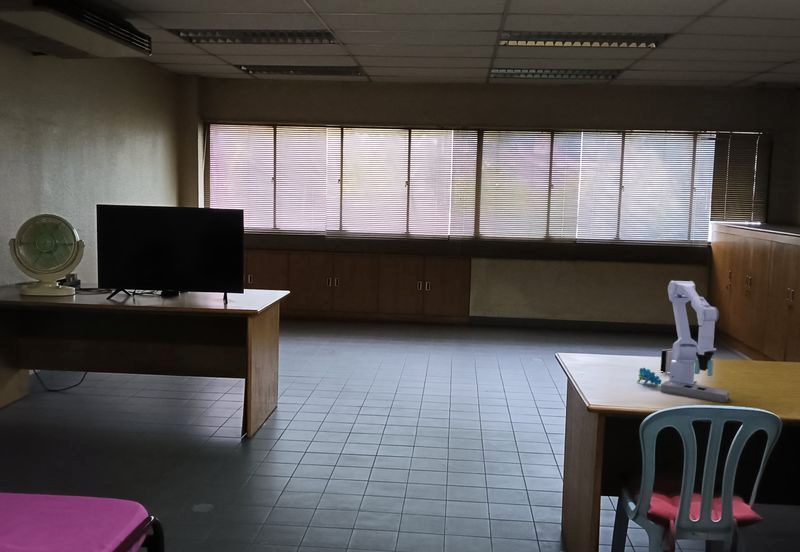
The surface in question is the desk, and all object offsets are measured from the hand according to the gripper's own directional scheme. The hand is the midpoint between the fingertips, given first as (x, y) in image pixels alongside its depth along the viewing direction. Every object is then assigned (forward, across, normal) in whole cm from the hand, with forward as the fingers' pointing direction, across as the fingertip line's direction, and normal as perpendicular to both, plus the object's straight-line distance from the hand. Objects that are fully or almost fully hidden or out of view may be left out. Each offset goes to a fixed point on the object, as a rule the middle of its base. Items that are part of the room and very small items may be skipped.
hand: (703, 369), depth 278 cm
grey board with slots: (+9, -9, +1) cm, 13 cm away
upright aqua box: (+2, 0, 0) cm, 2 cm away
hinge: (+9, +30, +21) cm, 38 cm away
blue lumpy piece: (+9, -4, +20) cm, 23 cm away
